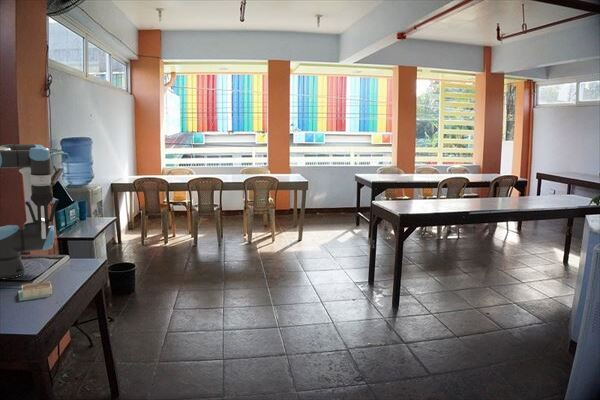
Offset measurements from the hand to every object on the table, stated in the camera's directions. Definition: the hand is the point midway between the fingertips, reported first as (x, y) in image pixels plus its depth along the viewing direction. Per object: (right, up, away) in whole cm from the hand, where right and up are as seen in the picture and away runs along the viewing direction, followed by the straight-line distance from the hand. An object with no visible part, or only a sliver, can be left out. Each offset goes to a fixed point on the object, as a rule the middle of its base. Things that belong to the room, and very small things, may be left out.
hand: (43, 237), depth 205 cm
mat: (-5, -25, +1) cm, 25 cm away
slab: (+1, -22, +4) cm, 23 cm away
